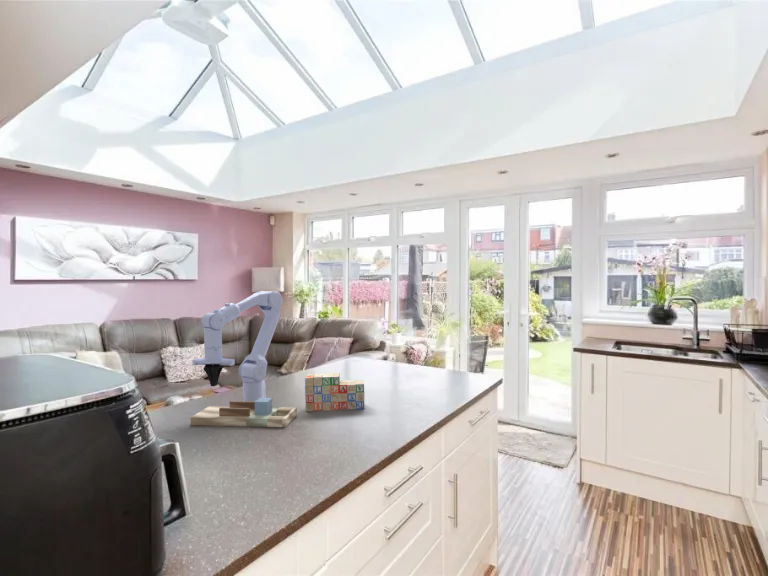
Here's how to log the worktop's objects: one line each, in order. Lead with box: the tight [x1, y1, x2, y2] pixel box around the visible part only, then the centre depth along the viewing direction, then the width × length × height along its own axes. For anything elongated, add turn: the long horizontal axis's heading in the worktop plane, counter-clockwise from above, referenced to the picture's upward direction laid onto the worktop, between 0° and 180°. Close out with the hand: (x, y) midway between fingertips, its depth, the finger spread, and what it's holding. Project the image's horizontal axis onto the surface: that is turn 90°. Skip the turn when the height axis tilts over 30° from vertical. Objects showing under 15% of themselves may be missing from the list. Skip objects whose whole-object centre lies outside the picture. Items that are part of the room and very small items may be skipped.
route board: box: [189, 400, 298, 428], centre depth 139 cm, size 12×32×5 cm, turn 85°
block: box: [255, 397, 273, 415], centre depth 138 cm, size 4×4×4 cm
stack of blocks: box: [304, 372, 365, 412], centre depth 151 cm, size 21×6×12 cm, turn 93°
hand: (214, 385), depth 144 cm, fingers closed
